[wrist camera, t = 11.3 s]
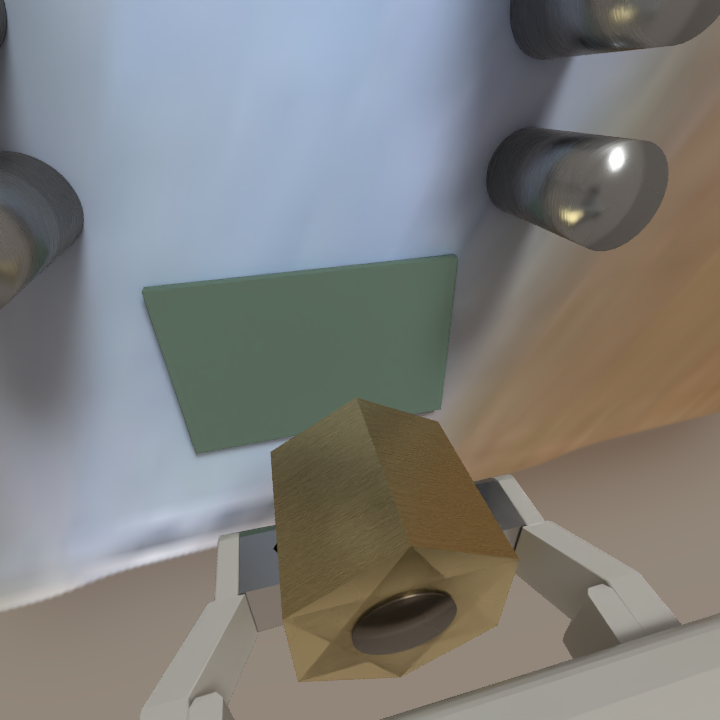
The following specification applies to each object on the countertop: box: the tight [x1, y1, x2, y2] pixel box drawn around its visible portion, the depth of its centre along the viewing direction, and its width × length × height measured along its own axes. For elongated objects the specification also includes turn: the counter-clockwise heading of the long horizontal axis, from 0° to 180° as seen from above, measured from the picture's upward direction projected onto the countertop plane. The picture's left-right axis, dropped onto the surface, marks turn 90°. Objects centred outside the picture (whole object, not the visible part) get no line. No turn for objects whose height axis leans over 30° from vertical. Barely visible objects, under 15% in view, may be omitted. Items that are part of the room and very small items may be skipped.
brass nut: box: [271, 397, 519, 682], centre depth 11 cm, size 5×6×5 cm
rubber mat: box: [142, 254, 458, 454], centre depth 18 cm, size 12×8×1 cm, turn 92°
